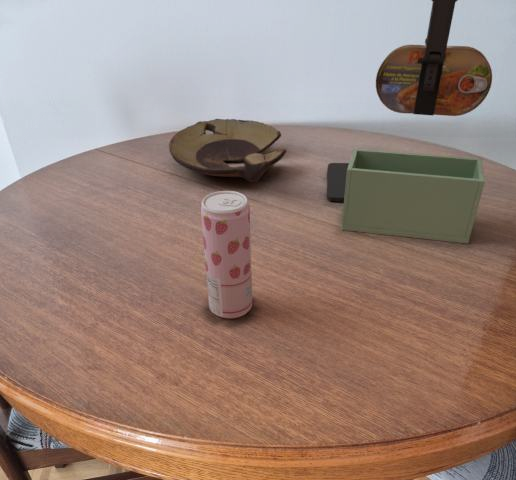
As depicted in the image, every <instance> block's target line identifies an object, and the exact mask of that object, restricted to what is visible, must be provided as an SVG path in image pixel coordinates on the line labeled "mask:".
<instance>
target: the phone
mask: <svg viewBox="0 0 516 480" xmlns="http://www.w3.org/2000/svg"><path fill="white" fill-rule="evenodd" d="M348 165H349V162H330V163H328V164H327V169H326V199H327V201H330V202H343V203H344V197H345V186H346V176H347V168H348Z"/></svg>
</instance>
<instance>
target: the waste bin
mask: <svg viewBox="0 0 516 480" xmlns="http://www.w3.org/2000/svg"><path fill="white" fill-rule="evenodd" d="M351 153H352V154H351V156H350V160H349V162H348V163H349V165H348V168H347V176H346V186H345V197H344V202H343V208H342V219H341V230H342V231H350V232H359V233H366V234H367V233H368V234H377V235H386V236H395V237H404V238H413V239H422V240H431V241H441V242H449V243H457V244H458V243H459V244H467V245H468V244H469V243H470V239H471V235H472V231H473V227H474V224H475V220H476V216H477V212H478V210H479V209H478V208H479V205H480V202H481V197H482V195H483V191H484V187H485V183H486V180H485V179H486V178H485V173H484V166H483V159H482V158H478V157H477V158H476V157H466V156H465V157H464V156H451V155H440V154H439V155H438V154H427V153H414V152H403V151H401V152H400V151H388V150H376V149H365V148H364V149H363V148H362V149H361V148H353V150H352V152H351Z"/></svg>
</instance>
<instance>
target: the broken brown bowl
mask: <svg viewBox="0 0 516 480" xmlns="http://www.w3.org/2000/svg"><path fill="white" fill-rule="evenodd" d="M206 131H209V132H212V133H206ZM281 137H282V133H281V131H279V130H277V128H276V127H273V126H272V125H268V124H265V123H264V122H260V121H257V120H247V119H246V120H244V119H236V118H231V119H230V118H229V119H228V118H226V119H223V118H215V119H211V120H204V121H198V122H196V123H195V124H192V125H189V126H187V127H185V128H183V129H181V130H179V131H178V132H177V133H175V134H174V135H173V136H172V138H171V139H170V141H169V144H168V150H169V153H170V155H171V157H172V158H173V160H174V161H175V162H176V163H177V164H179V165H180V166H182V167H183V168H186V169H188V170H190V171H193V172H197V173H201V174H204V175H208V176H214V177H225V178H239V177H240V178H242V179H244V180H246V181H247V182H250V183H253V182H257V181H259V180H260V179H261V177H262V176H263V175H264V173H265V172H266V171H267V170H268V169H269V168H270V167H272V166H274V165H276V164H277V163H278V162H279V161H281V160H282V159H283V157H284V156H285V155H286V153H287V148H281V149H276V150H275V151H272V152H268V153H266V154H264V152H265V151H266V150H268V149H269V148H270V147H271V146H272V145H274V144H275V143H276V142H277V141H278V140H279V139H281ZM226 162H234V163H235V162H236V163H239V162H243V164H244V165H242V166H232V167H231V166H230V165H229V164H227V163H226Z"/></svg>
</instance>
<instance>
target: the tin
mask: <svg viewBox="0 0 516 480" xmlns="http://www.w3.org/2000/svg"><path fill="white" fill-rule="evenodd" d="M425 50H426V45H425V44H405V45H402V46H399V47H397V48H395V49H394V50H392V51H391V52H390V53H388V54H387V56H386V57H385V58H384V59H383V61H382V63H381V64H380V65H379V67H378V70H377V72H376V76H375V90H376V93H377V96H378V99H379V100H380V102H381V103H382V104H383V106H384V107H386V108H387V109H388V110H390V111H392V112H394V113H398V114H411V115H412V114H413V115H415V114H414V108H415V102H416V96H417V90H418V84H419V78H420V72H421V66H422V63H418V58H423V56H424V54H425ZM445 54H446V59H445V61H444V62H443V69H442V74H441V79H440V84H439V90H438V95H437V100H436V105H435V110H434V116H446V117H447V116H448V117H459V116H463V115H466V114H468V113H471V112H473V111H474V110H475V109H477V108H478V107H479V106H480V105H481V104H482V103H483V102H484V101H485V100H486V98H487V96H488V95H489V93H490V90H491V88H492V85H493V84H492V83H493V69H492V67H491V65H490V62H489V61H488V59H487V57H486V56H485V55H484V53H483V52H482V51H480V50H479V49H477V48H474V47H473V46H467V45H447V48H446V53H445Z"/></svg>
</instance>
